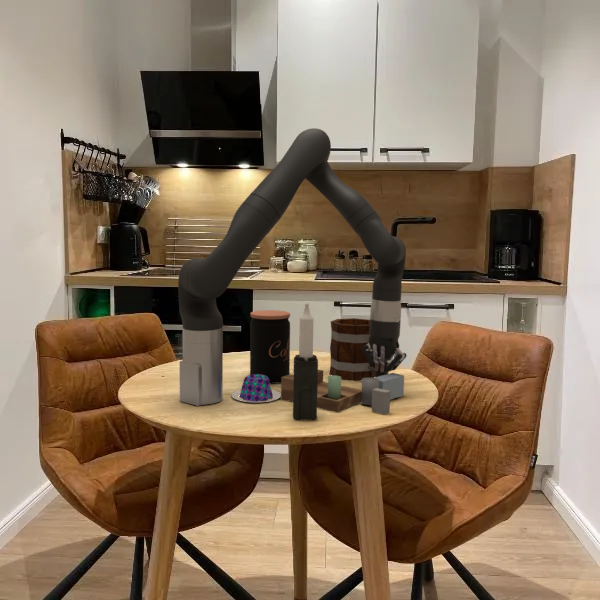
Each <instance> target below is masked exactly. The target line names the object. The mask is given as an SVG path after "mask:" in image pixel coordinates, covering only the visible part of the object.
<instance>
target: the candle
mask: <svg viewBox="0 0 600 600" xmlns="http://www.w3.org/2000/svg"><path fill="white" fill-rule="evenodd" d="M309 305H310V303H309V302H305V303H304V309H303V312H302V314H301V316H300V318H299V332H298V333H299V337H298V338H299V342H298V343H299V347H298V351H299V352H298V354H296V355H295V356H294V357H293V375H294V378H293V402H292V418H293V420H294V421H316V420H318V408H317V389H318V370H319V360H318V357H317V355H316V354H314V317H313V316H312V313H311V310H310V307H309Z"/></svg>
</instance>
